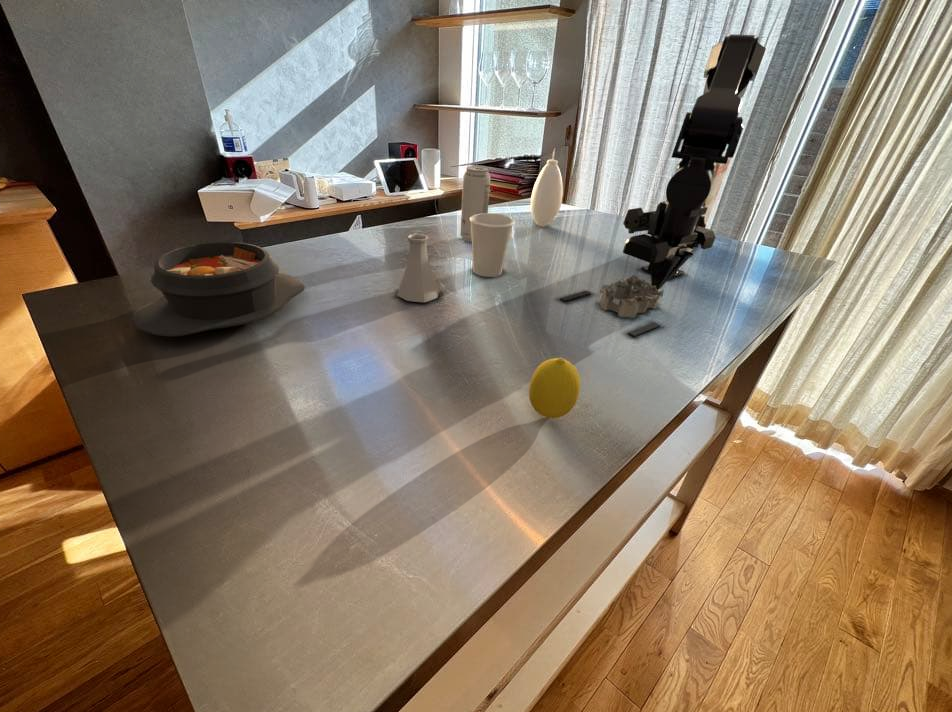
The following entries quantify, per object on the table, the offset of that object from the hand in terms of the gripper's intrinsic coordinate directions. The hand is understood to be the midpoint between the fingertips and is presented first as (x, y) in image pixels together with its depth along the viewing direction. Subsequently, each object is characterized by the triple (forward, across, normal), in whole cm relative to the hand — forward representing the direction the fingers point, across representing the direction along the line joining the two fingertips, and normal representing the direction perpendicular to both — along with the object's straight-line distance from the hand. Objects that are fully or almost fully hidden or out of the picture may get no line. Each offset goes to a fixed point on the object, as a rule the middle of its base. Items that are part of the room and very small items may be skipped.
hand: (654, 289), depth 81 cm
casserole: (+2, +66, -31) cm, 73 cm away
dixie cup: (+2, +19, -25) cm, 32 cm away
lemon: (+2, +42, +15) cm, 45 cm away
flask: (+2, +37, -22) cm, 43 cm away
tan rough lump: (+2, +7, 0) cm, 8 cm away
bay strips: (+2, +13, 0) cm, 13 cm away
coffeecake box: (+2, -35, -16) cm, 38 cm away
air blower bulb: (+2, -15, -44) cm, 46 cm away
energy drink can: (+2, +9, -43) cm, 44 cm away
